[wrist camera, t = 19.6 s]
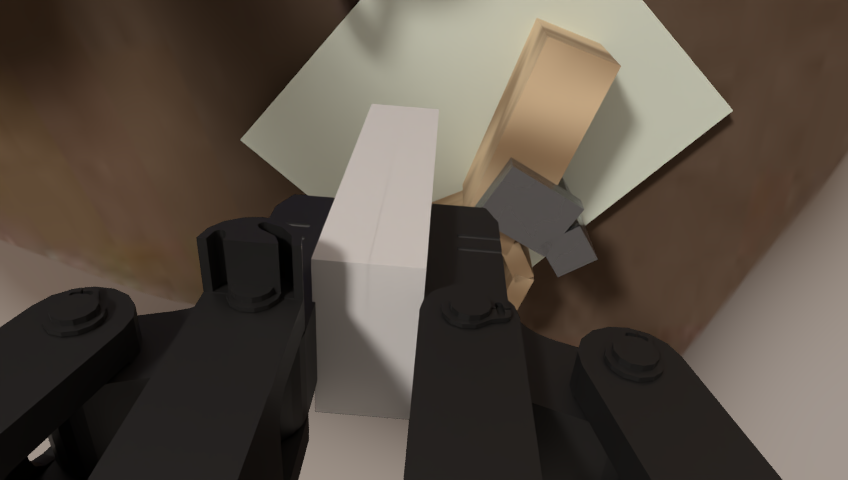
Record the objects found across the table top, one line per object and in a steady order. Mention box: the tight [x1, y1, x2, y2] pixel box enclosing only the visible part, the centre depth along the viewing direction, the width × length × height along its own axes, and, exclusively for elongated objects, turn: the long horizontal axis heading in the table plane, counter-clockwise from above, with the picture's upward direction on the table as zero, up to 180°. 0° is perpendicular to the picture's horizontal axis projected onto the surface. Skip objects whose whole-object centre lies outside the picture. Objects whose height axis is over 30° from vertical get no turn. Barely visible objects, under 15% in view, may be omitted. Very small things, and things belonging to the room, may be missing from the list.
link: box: [432, 18, 621, 310], centre depth 37 cm, size 18×7×5 cm, turn 160°
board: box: [241, 0, 733, 267], centre depth 38 cm, size 20×22×1 cm
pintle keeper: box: [475, 157, 598, 277], centre depth 37 cm, size 7×10×9 cm
